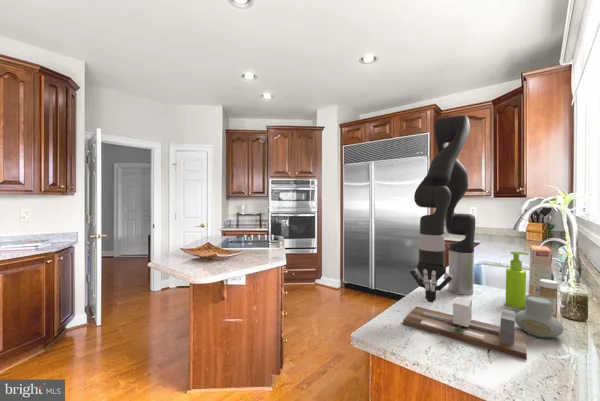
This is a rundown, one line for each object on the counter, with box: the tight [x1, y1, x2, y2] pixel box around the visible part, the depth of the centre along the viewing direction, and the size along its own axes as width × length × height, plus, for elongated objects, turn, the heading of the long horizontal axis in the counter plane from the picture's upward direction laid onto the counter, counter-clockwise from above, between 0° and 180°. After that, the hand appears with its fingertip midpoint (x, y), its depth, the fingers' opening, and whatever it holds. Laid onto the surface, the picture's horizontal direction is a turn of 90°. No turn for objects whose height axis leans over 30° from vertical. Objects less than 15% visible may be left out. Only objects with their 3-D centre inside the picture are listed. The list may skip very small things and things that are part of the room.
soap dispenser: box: [505, 251, 530, 309], centre depth 105 cm, size 6×7×20 cm
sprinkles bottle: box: [539, 279, 559, 320], centre depth 91 cm, size 5×5×14 cm
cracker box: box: [528, 244, 553, 298], centre depth 110 cm, size 14×6×21 cm, turn 143°
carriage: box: [452, 296, 473, 331], centre depth 83 cm, size 11×4×6 cm, turn 142°
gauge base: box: [402, 306, 528, 360], centre depth 84 cm, size 14×30×8 cm, turn 52°
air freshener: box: [515, 296, 564, 339], centre depth 83 cm, size 11×8×10 cm
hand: (430, 301), depth 90 cm, fingers closed
